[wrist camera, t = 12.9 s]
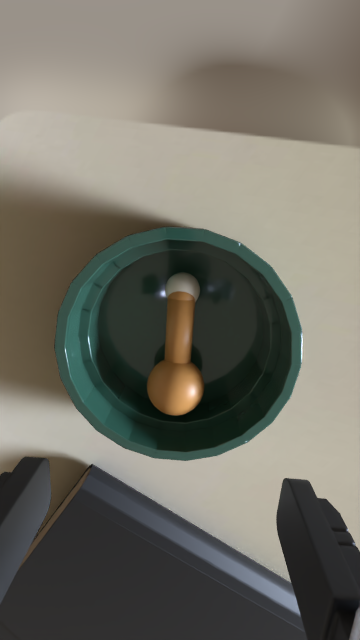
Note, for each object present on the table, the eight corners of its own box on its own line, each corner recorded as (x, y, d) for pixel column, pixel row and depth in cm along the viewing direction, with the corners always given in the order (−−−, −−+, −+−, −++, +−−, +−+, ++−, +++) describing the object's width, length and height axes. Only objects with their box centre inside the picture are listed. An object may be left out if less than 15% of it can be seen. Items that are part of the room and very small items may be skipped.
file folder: (-30, 634, 34) (84, 484, 29) (-7, 592, 38) (97, 454, 33) (216, 756, 38) (357, 644, 33) (214, 707, 42) (339, 600, 37)
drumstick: (156, 268, 26) (145, 275, 22) (213, 272, 26) (215, 280, 22) (151, 394, 30) (141, 424, 25) (202, 399, 29) (201, 430, 25)
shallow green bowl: (79, 222, 26) (47, 219, 20) (295, 235, 26) (324, 236, 20) (84, 410, 31) (58, 450, 25) (266, 424, 30) (283, 468, 25)
